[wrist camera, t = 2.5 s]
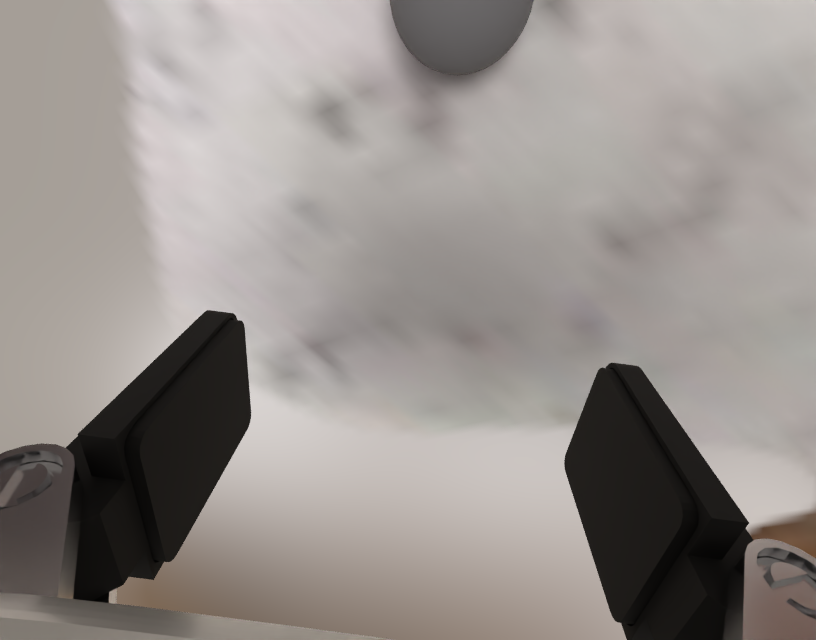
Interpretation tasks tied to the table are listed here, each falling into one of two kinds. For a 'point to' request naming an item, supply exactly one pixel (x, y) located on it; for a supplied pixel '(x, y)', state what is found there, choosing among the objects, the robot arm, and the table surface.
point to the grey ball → (459, 31)
